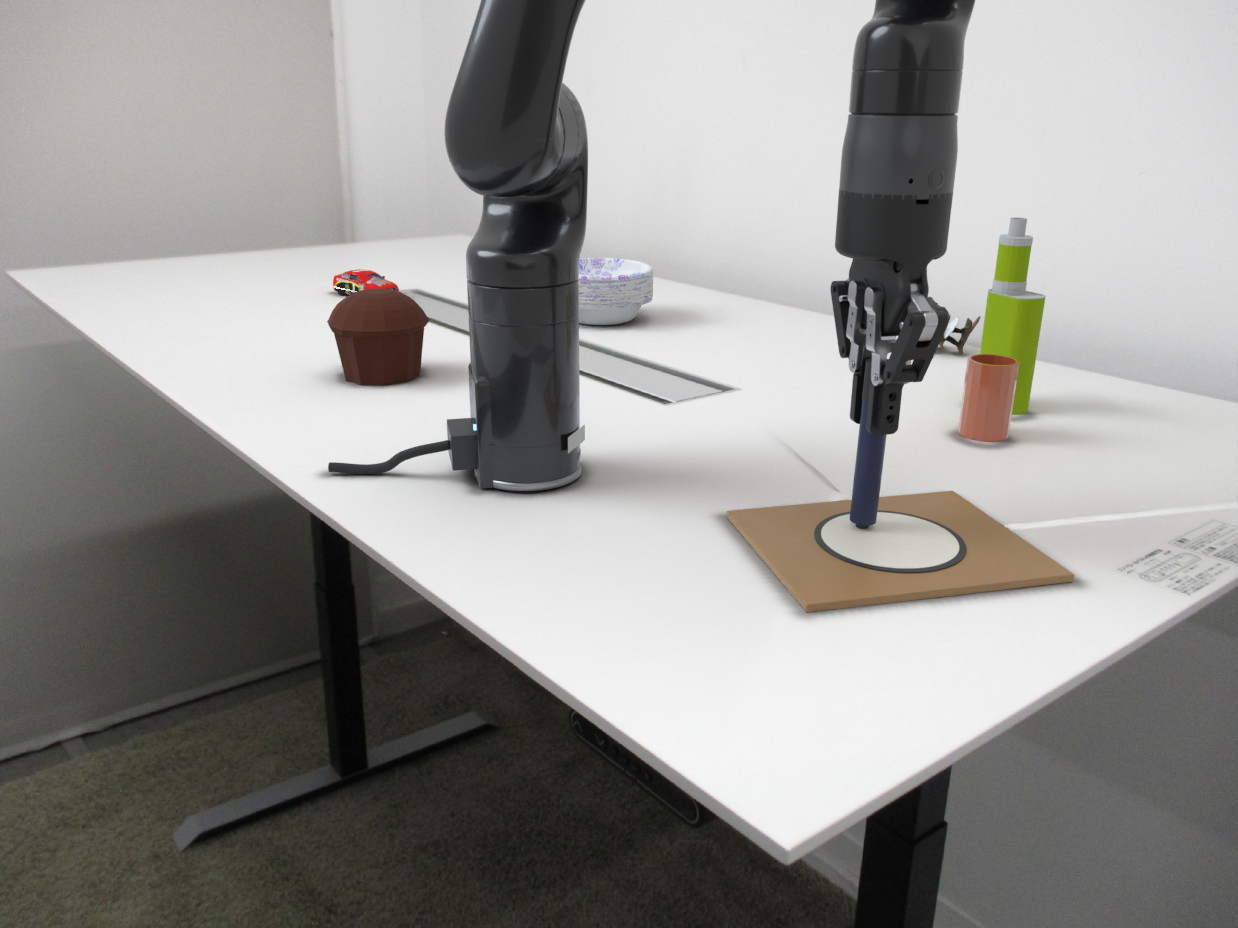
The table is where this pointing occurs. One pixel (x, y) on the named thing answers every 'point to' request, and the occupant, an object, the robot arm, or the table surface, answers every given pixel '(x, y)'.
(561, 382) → the robot arm
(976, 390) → the pen pot
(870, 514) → the marker
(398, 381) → the muffin
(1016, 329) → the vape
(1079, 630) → the table surface
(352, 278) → the race car
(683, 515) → the table surface
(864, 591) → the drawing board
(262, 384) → the table surface
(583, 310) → the paper bowls
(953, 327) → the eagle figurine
